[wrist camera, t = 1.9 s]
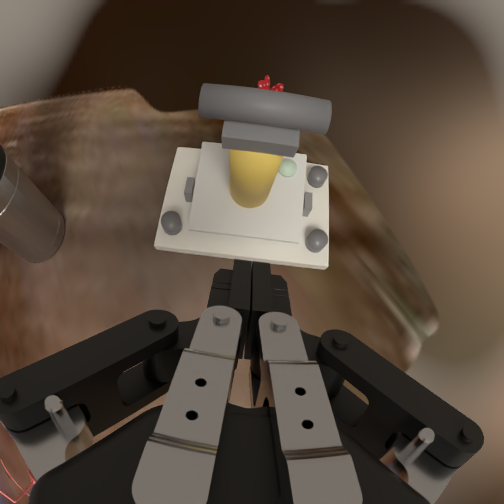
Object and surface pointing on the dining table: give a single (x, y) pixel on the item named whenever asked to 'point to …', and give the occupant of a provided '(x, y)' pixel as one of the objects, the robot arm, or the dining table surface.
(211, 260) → the dining table surface
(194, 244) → the base
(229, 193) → the yellow column stand
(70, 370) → the robot arm
